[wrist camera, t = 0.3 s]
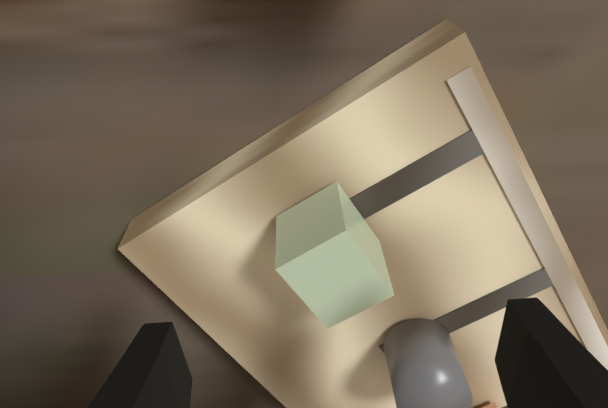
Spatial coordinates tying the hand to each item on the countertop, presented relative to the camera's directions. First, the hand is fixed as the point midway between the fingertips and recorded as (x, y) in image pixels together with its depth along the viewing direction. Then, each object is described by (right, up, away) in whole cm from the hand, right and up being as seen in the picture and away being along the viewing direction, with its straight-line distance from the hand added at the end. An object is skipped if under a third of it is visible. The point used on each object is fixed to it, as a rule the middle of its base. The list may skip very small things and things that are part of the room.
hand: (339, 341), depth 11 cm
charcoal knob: (+4, -3, +10) cm, 11 cm away
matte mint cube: (0, +2, +7) cm, 7 cm away
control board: (+4, -2, +12) cm, 13 cm away
